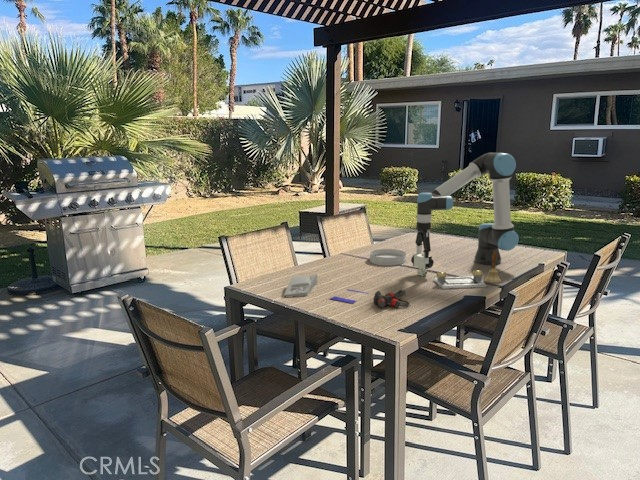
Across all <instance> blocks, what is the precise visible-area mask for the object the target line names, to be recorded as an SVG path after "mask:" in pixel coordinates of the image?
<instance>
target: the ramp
mask: <svg viewBox="0 0 640 480" xmlns="http://www.w3.org/2000/svg"><path fill="white" fill-rule="evenodd" d="M317 284H318V274H317V273H315V274H311V275H292V277H291V278H290V281H289V282H288V285H287V287H286V289H285V292H284V293H283V297H284V296H298V297H308V296H309V294H310V293H311V292H312V290H313V289H314V288H315V286H317Z"/></svg>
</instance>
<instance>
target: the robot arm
mask: <svg viewBox="0 0 640 480" xmlns="http://www.w3.org/2000/svg"><path fill="white" fill-rule="evenodd" d="M516 168H517V162H516V159H515V158H514V156H512V154H510V153H506V152H505V153H504V152H487V153H484V154H483V155H480V156H479V157H477V158H475V159H474V160H472V161H471V162H469V164H468V166H467V167H465V168H464V169H462V170H461V171H459V172H458V173H456V174H455V175H454V176H452V177H451V178H449V179H448V180H446V181H444V182H443V183H442V184H440V185H439V186H438V187H435V189H433V190H432V191H430V192H429V191H428V192H420V193H418V194H417V200H416V207H417V208H416V215H415V218H416V230H417V233H416V237H415V238H416V239H415V245H416V252H415V253H416V254H423V264H429V256H430V252H431V251H432V250H431V241H430V240H431V239H430V232H428V230H431V228H432V223H431V221H432V212H433V211H447V210H452V209H453V207H454V199H453V197H452V196H451V195H452V194H454V193H455V192H457V191H458V190H459V189H461V188H462V187H464V186H466V185H467V184H468V183H469V182H471V181H473V180H474V179H476V178H481V177H482V176H483V175H488V176H489V177H488V178H489V180H490V181H491V182H492V183H491V184H492V196H493V197H492V200H493V201H492V202H493V222H492V223H489V222H488V223H481V224H479V226H478V241H477V246H478V247H477V249H476V252H475V254H474V255H475V256H473V257H474V259H473V261H474V262H475V263H476V264H477V263H478V264H482V265H492V264H493V262H492V254H493V252H494V251H496V252H497V261H496V265H498V264H501V263H502V256H501V253H500V250H501V251H506V252H507V251H508V252H509V251H512V250H513V249H515V248H516V247H517V245H518V243H519V240H520V239H519V237H520V236H519V234H518V233H517V232H516V231H515V225H514V224H513V223H512V219H511V217H512V216H511V198H510V197H511V196H510V195H511V193H510V190H511V189H510V180H511V179H512V177H513V173H514V171H515V170H516ZM422 247H423V251H422ZM416 254H415V255H416Z"/></svg>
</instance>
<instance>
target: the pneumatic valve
mask: <svg viewBox="0 0 640 480" xmlns="http://www.w3.org/2000/svg"><path fill="white" fill-rule="evenodd" d="M423 255H424V253H421V254H413V255H412V256H411V260H410V262H411V263H412V267H415V268H417V270H416V273H417V275H418V276H420V277H424V276H426V275H427V274H428V271H427V270H428V269H431V268H433V266H434V262H435V261H434V259H433V257H432V256H431V255H429V264H423Z"/></svg>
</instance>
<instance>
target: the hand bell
mask: <svg viewBox="0 0 640 480" xmlns="http://www.w3.org/2000/svg"><path fill="white" fill-rule="evenodd" d="M496 261H497V252H496V251H494V252H493V254H492V262H493V264H491V269H489V270H488V272H487V273H488V274H487V275H486V277H485V278H484V279H483V280H484V281H485V282H487V283H491V284H492V283H493V284H499V283H501V282H502V279H500V277H499V270H497V269H496V267H497V264H496Z"/></svg>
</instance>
